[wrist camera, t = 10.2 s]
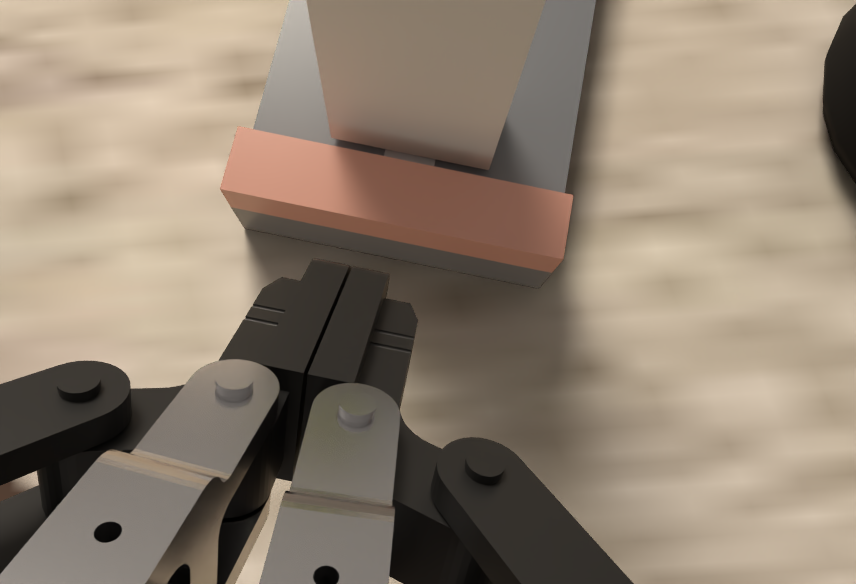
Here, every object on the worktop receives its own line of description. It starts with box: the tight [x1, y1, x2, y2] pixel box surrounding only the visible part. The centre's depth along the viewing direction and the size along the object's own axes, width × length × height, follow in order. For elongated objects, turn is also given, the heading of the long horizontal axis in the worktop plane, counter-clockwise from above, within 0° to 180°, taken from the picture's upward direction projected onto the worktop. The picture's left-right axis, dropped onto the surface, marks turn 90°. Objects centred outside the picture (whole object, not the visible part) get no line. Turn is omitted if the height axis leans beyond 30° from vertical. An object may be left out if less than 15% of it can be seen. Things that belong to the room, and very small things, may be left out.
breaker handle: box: [306, 0, 546, 170], centre depth 18 cm, size 2×5×10 cm, turn 79°
